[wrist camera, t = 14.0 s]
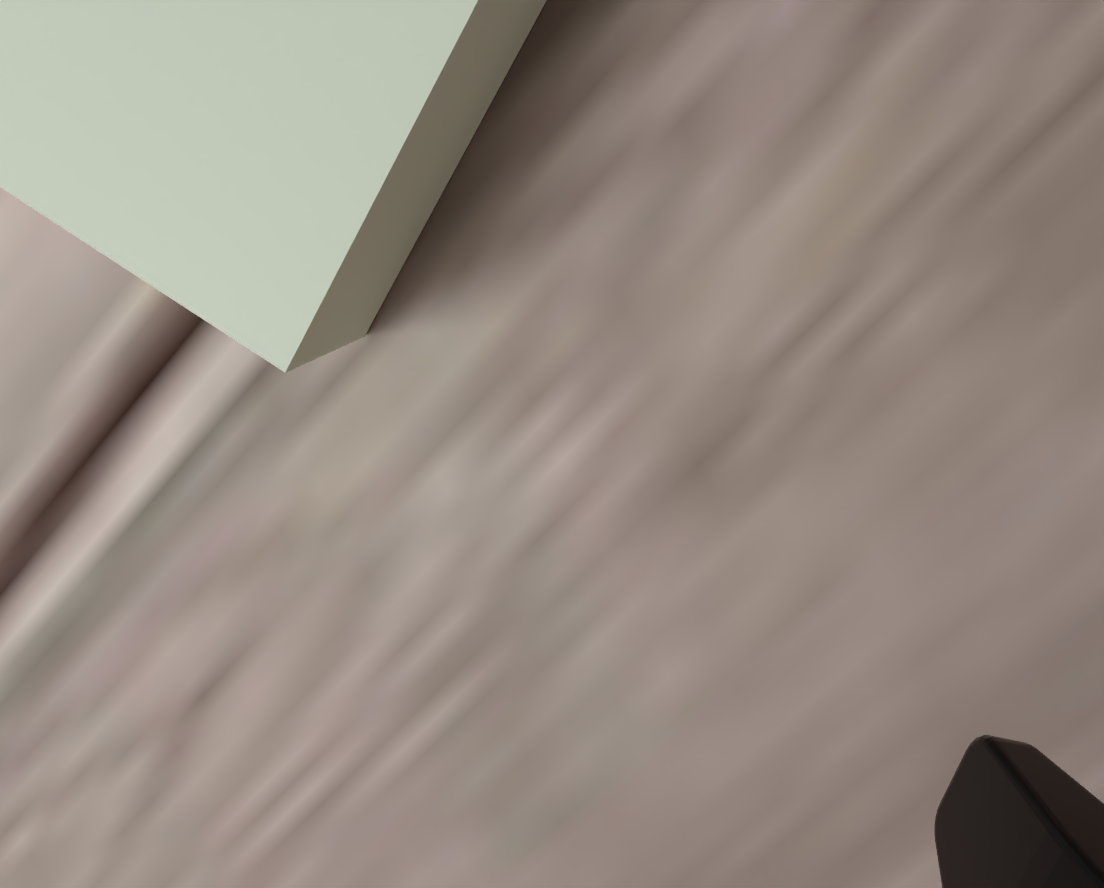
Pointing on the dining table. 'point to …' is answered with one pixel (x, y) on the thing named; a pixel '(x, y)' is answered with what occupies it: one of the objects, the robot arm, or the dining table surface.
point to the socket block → (251, 144)
